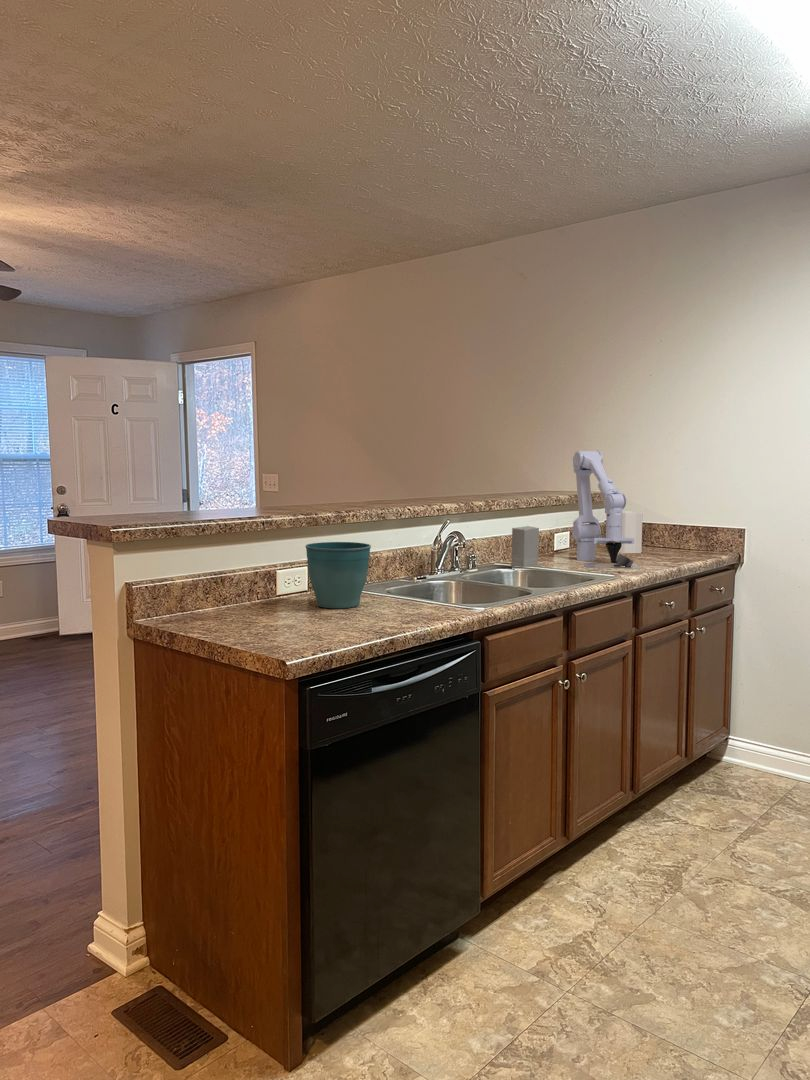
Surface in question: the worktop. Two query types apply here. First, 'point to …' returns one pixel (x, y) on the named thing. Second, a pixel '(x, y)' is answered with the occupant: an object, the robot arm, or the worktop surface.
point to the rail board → (609, 565)
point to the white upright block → (632, 531)
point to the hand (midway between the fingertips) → (613, 563)
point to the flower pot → (338, 572)
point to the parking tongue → (566, 563)
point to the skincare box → (525, 546)
